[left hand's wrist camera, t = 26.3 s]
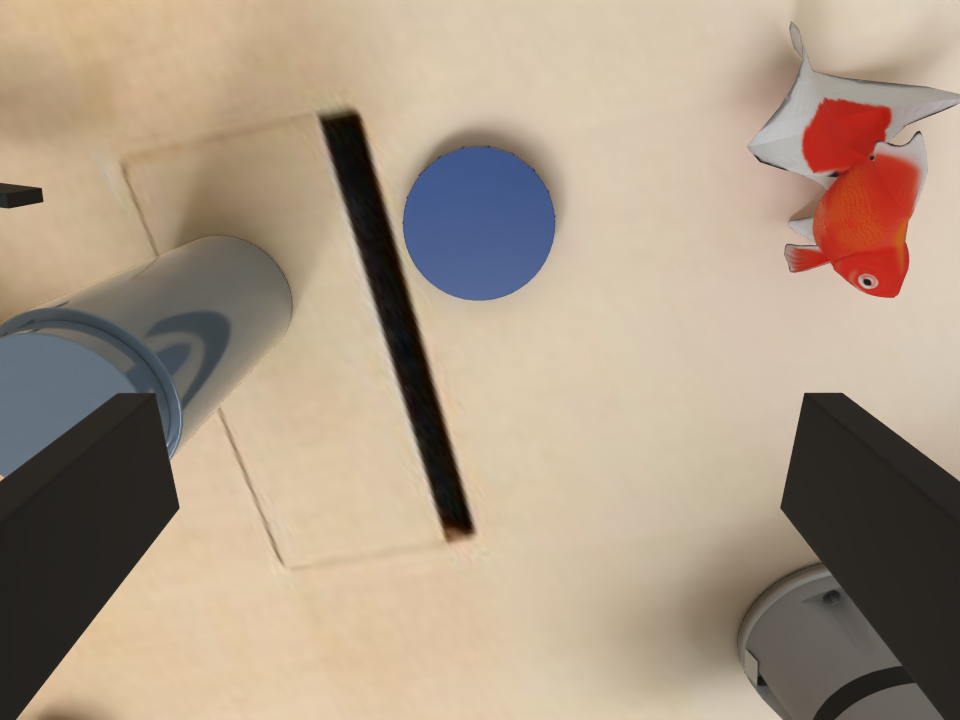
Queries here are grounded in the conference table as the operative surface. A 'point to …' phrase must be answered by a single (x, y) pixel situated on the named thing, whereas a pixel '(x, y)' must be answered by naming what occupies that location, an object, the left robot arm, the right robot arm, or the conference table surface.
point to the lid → (479, 223)
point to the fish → (852, 170)
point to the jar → (142, 343)
